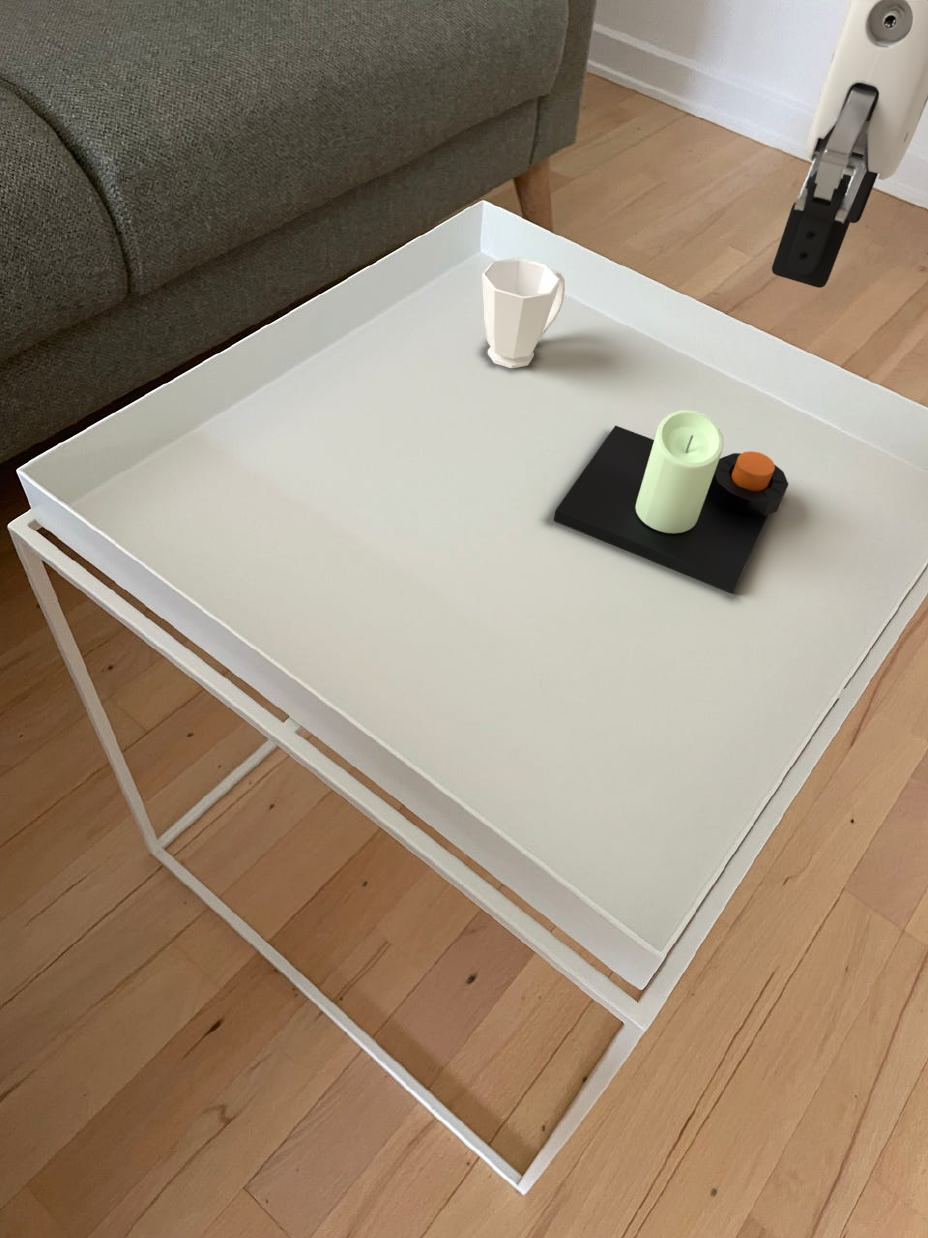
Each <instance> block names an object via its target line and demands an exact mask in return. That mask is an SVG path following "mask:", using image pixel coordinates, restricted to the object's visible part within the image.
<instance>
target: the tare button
mask: <svg viewBox="0 0 928 1238" xmlns="http://www.w3.org/2000/svg"><path fill="white" fill-rule="evenodd" d="M774 464H775V462H774V461H773V460H772V459H771V458H770V457H769V456H767V455H766V454H764V453H761V452H757V451H753V450H752V451H744V452H742V454H740V455H739V457H738V459H737V462H736V464H735V467H734V469H733V472H732V480H733V482H735V483H736V484H737V485H738V486H740V487H742V488H745V489H748V490H750V491H763V490H764V489H766V488H767V486H768V484H769V482H770V479H771V477H772V474H773V472H774V470H775V465H776V464H775V465H774Z"/></svg>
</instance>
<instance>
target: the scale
mask: <svg viewBox="0 0 928 1238" xmlns="http://www.w3.org/2000/svg"><path fill="white" fill-rule="evenodd" d="M654 440H655V439H653V438H650V437H647V436H645V435H642V434H639V433H636V432H635V431H632V430H630V429H626V428H624V427H622V426H618V425H617V424H616V425H614V426H613V428H612V429H611V431H610V432H609V434H608V435H607V437H606V438H605V439H604V441H603V442H602V444H600V446H599V447H598V449H597V451H596V452H595V453H594V454H593V456H592V458H591V459H590V461H589V462H588V463H587V464H586V466H585V467H584V468H583V470H582V472H581V473H580V475H579V476H578V477H577V479H576V480H575V482H574V483H573V485H572V486H571V487H570V489H569V490H568V491H567V493H566V494H565V496H564V497H563V499H562V500H561V501H560V503H559V504H558V506H557V507H556V508H555V511H554V516H553V521H554V522H555V523H558V524H561V525H563V526H566V527H568V528H571V529H573V530H576V531H577V532H580V533H583V534H586V535H587V536H590V537H593V538H596V539H598V540H600V541H603V542H604V543H607V544H609V545H612V546H614V547H618V548H619V549H622V550H624V551H626V552H629V553H632V554H634V555H637V556H639V557H642V558H643V559H647V560H648V561H652V562H653V563H656V564H658V565H661V566H664V567H666V568H669V569H671V570H672V571H673V570H674V571H676V572H679V573H681V574H683V575H686V576H688V577H691V578H693V579H695V580H697V581H700V582H703V583H705V584H708V585H710V586H713V587H715V588H717V589H720V590H722V591H724V592H727V593H730V594H733V593H734V592H735V590H736V587H737V585H738V583H739V581H740V579H741V576H742V574H743V572H744V569H746V566H747V564H748V562H749V559H750V557H751V556H752V552H753V551H754V548H755V546H756V544H757V542H758V540H759V537H760V535H761V534H762V531H763V530H764V527H765V525H766V523H767V520H768V518H769V516H770V515H772V514H774V513H776V512H777V511H778V510H779V507H780V505H781V503H782V501H783V499H784V496H785V494H786V491H787V489H788V486H789V482H788V479H787V477H786V475H785V472H784V471H783V470H782V469H781V468H780V467H779V466H777V465H776V464H775V463H774V465H775V470H774V472H773V474H772V477H771V479H770V482H769V484H768V486H767V488H766V489H764V490H763V491H750V490H748V489H745V488H742V487H740V486H738V485H737V484H736V483H735V482H733V480H732V472H733V469H734V467H735V464H736V462H737V459H738V457H739V455H740V454H742V453H743V452H742V453H741V452H740V453H739V452H734V453H729V454H728V455H725V456H723V457H720V459H719V461H718V464H717V467H716V470H715V473H714V475H713V478H712V481H711V484H710V487H709V489H708V492H707V495H706V498H705V500H704V503H703V506H702V509H701V512H700V514H699V517H698V520H697V522H696V524H695V526H694V527H692V528H691V529H690V530H687V531H685V532H681V533H665V532H661V531H658V530H655V529H653V528H651V527H649V526H648V525H646V524H645V523H644V522H643V521H642V520H641V519H640V518H639V516H638V514H637V513H636V508H635V507H636V502H637V498H638V495H639V491H640V488H641V484H642V481H643V478H644V474H645V471H646V467H647V464H648V460H649V457H650V453H651V450H652V447H653V443H654Z"/></svg>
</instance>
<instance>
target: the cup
mask: <svg viewBox="0 0 928 1238" xmlns="http://www.w3.org/2000/svg"><path fill="white" fill-rule="evenodd" d="M481 280H482V281H481V282H482V297H483V299H482V300H483V316H484V317H483V319H484V328H485V334H486V341H487V343H488V345H489V348H488V349H487V355H488V357H489V358H490V359H491V360H492V362H493V363H494V364H496V365H499V366H503V367H504V368H505V367H506V368H508V369H517V368H522V367H527V366H529V365H530V363H531V362H532V359H533V358H534V355H535V353H534V350H535V349H536V347H537V345H538V343H539V341H540V339H541V338H542V337H543V335H544V334H545V333H546V332H547V331H548V330H549V327H551V325H552V324H553V323H554V321H555V320H556V319H557V316H558V315H559V313H560V311H561V308H562V306H563V303H564V300H565V291H566V287H565V284H566V283H565V278H564V275H563V274H562V273H561V272H559V271H557V270H555V269H552V268H550V267H549V265H548V264H547V265H546V264H543V263H540V262H536V261H533V260H528V259H526V258H522V257H515V258H507V259H500V260H494V261H492V262H491V263H490V264H489V265H488V267H487V268H486V269H485V270H484V272H483V273H482V274H481Z"/></svg>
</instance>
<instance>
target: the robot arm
mask: <svg viewBox="0 0 928 1238" xmlns="http://www.w3.org/2000/svg"><path fill="white" fill-rule="evenodd" d="M831 55H832V56H831V59H830V62H829V66H828V68H827V71H826V73H825V74H826V75H825V78H824V82H823V84H822V87H821V91H820V94H819V97H818V100H817V104H816V109H815V111H814V115H813V119H812V122H811V125H810V129H809V133H808V135H807V140H806V145H805V149H804V150H805V153H806V155H807V157H808V158H809V160H810V161H811V164H810V167H809V169H808V171H807V174H806V176H805V179H804V182H803V184H802V186H801V189H800V192H799V193H798V196H797V199H796V202H793V203H792V206H791V208H790V211H789V215H788V218H787V220H786V224H785V227H784V230H783V233H782V235H781V239H780V242H779V245H778V248H777V251H776V254H775V257H774V260H773V263H772V266H771V272H772V273H773V275H775V276H778V277H781V278H784V279H788V280H791V281H795V282H798V283H801V284H805V285H808V286H811V287H815V288H817V289H818V288H819V289H822V288H824V287H825V286H826V285H827V283H828V281H829V279H830V277H831V274H832V271H833V268H834V266H835V264H836V260H837V258H838V257H839V254H840V250H841V247H842V245H843V243H844V240H845V238H846V234H847V232H848V229H849V226H850V224H856V223H858V222H859V221H860V220H861V218H862V216H863V214H864V211H865V209H866V206H867V203H868V202H869V198H870V195H871V193H872V190H873V188H874V186H875V183H876V180H877V178H878V180H881V181H883V180H886V179H888V178H890V177H892V176H893V175H895V173H896V172H897V170H898V168H899V166H900V164H901V162H902V160H903V158H904V157H905V154H906V153H907V150H908V148H909V147H910V144H911V142H912V140H913V138H914V136H915V133H916V131H917V128H918V126H919V123H920V121H921V118H922V115H923V113H924V110H925V108H926V105H927V103H928V0H850V1H849V3H848V7H847V9H846V12H845V15H844V18H843V21H842V25H841V28H840V30H839V34H838V37H837V40H836V43H835V46H834V49H833V52H832V54H831Z"/></svg>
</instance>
